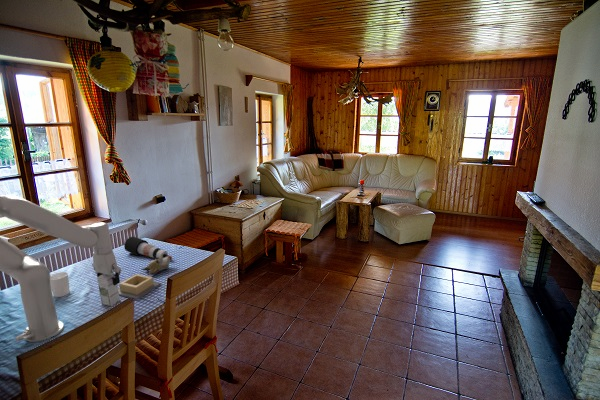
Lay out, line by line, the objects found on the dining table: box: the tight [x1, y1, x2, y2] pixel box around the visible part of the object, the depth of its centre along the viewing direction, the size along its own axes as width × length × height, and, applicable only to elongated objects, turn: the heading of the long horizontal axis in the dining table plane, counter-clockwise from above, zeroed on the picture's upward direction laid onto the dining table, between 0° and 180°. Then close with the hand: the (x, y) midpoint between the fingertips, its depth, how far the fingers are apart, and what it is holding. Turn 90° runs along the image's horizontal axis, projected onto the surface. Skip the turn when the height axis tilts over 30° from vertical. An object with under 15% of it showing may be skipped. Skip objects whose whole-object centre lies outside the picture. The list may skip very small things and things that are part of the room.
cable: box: [123, 236, 173, 261], centre depth 205 cm, size 10×34×10 cm, turn 67°
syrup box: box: [96, 273, 121, 307], centre depth 154 cm, size 6×6×14 cm
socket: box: [118, 273, 162, 301], centre depth 167 cm, size 16×16×5 cm
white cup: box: [50, 271, 71, 298], centre depth 162 cm, size 8×8×10 cm
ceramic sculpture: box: [141, 255, 171, 276], centre depth 187 cm, size 11×9×15 cm
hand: (109, 282), depth 154 cm, fingers open, 9 cm apart
